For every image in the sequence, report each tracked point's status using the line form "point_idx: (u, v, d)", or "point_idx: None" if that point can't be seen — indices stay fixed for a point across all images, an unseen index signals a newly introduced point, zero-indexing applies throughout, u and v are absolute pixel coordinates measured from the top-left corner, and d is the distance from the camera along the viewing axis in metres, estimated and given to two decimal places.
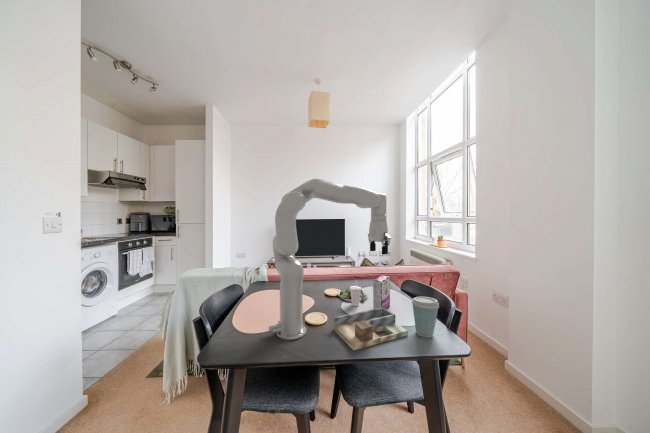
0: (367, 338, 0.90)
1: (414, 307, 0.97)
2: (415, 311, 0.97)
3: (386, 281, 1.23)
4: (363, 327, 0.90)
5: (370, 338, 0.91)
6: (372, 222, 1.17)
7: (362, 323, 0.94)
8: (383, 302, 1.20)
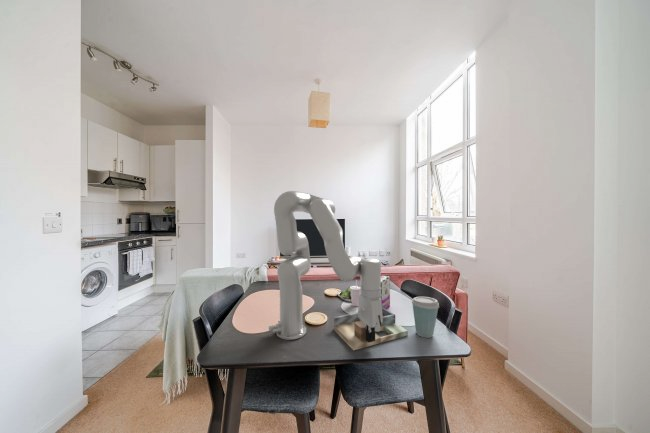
0: None
1: (414, 307, 0.97)
2: (415, 311, 0.97)
3: (386, 281, 1.23)
4: (363, 326, 0.91)
5: None
6: (362, 297, 0.88)
7: (361, 322, 0.94)
8: (383, 302, 1.20)
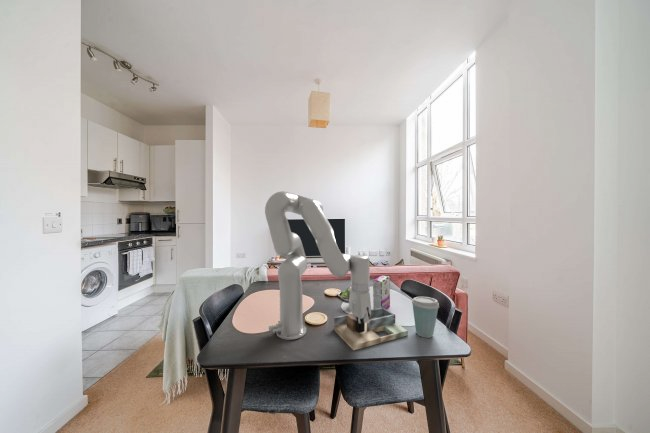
0: None
1: (414, 307, 0.97)
2: (415, 311, 0.97)
3: (386, 281, 1.23)
4: (354, 318, 0.98)
5: None
6: None
7: (353, 314, 1.01)
8: (383, 302, 1.20)
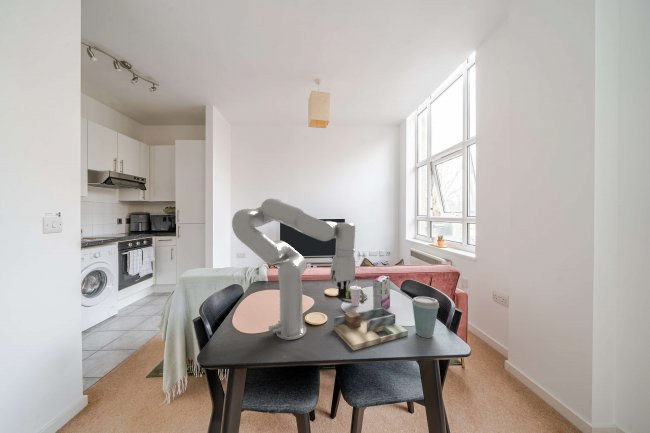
0: (355, 326, 1.00)
1: (414, 307, 0.97)
2: (415, 311, 0.97)
3: (386, 281, 1.23)
4: (352, 315, 1.00)
5: (358, 326, 1.00)
6: None
7: (351, 312, 1.03)
8: (383, 302, 1.20)
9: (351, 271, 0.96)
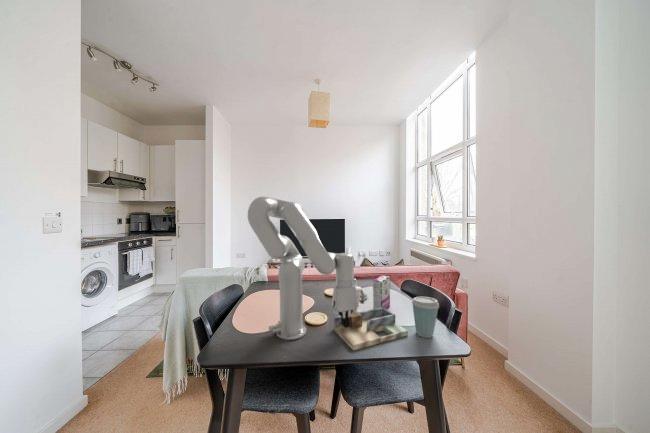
0: (357, 325, 1.00)
1: (414, 307, 0.97)
2: (415, 311, 0.97)
3: (386, 281, 1.23)
4: (353, 315, 1.00)
5: (359, 325, 1.00)
6: None
7: (352, 312, 1.03)
8: (383, 302, 1.20)
9: (352, 301, 0.97)
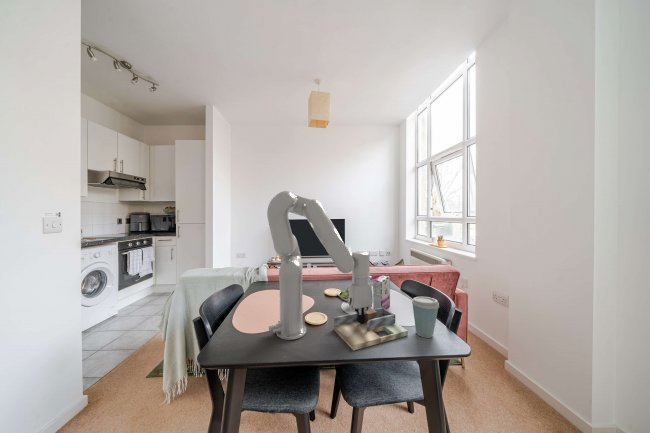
0: None
1: (414, 307, 0.97)
2: (415, 311, 0.97)
3: (386, 281, 1.23)
4: (369, 312, 1.03)
5: None
6: None
7: None
8: (383, 302, 1.20)
9: (368, 298, 1.01)
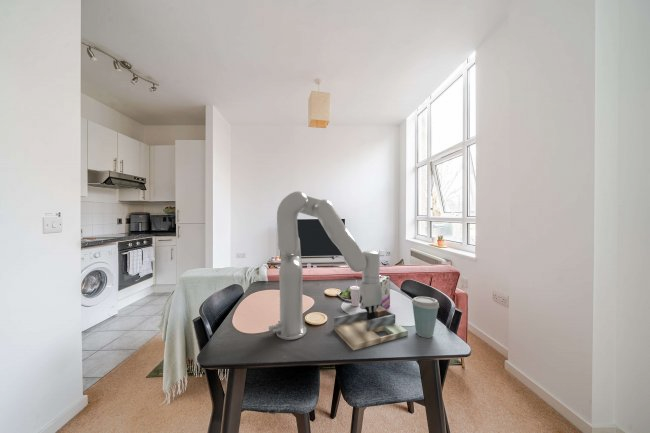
0: None
1: (414, 307, 0.97)
2: (415, 311, 0.97)
3: (386, 281, 1.23)
4: (379, 310, 1.05)
5: None
6: None
7: None
8: (383, 302, 1.20)
9: (378, 296, 1.03)
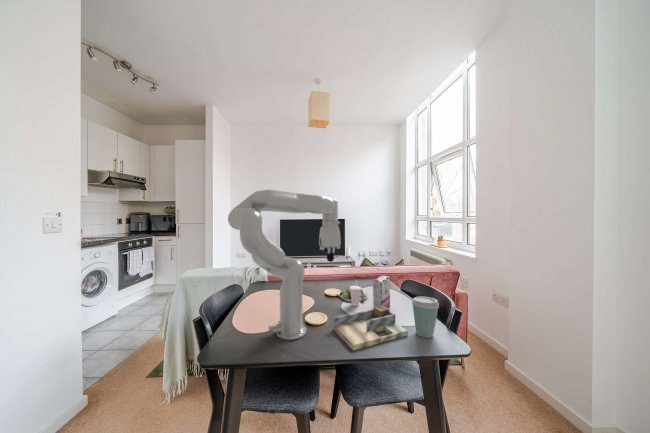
0: None
1: (414, 307, 0.97)
2: (415, 311, 0.97)
3: (386, 281, 1.23)
4: (382, 309, 1.06)
5: None
6: None
7: (379, 306, 1.09)
8: (383, 302, 1.20)
9: (336, 239, 1.14)
